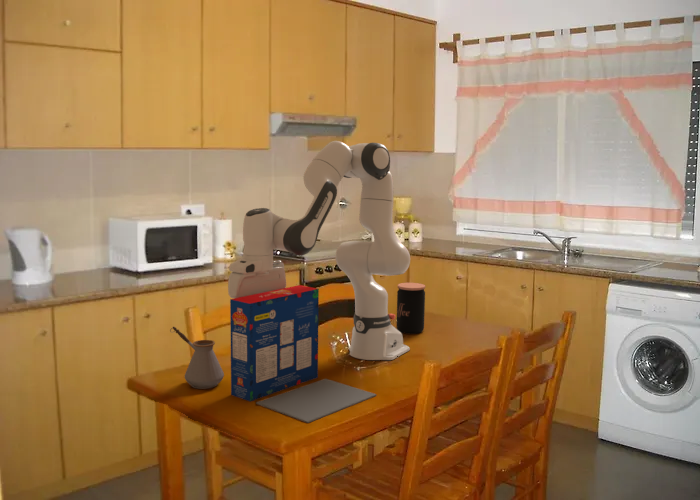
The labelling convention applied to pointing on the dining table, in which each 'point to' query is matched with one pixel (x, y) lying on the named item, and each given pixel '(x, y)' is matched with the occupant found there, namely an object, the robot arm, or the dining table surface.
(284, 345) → the cereal box
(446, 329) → the dining table surface
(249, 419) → the dining table surface
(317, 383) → the mat
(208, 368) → the coffee pot
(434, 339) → the dining table surface
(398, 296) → the coffee jar
